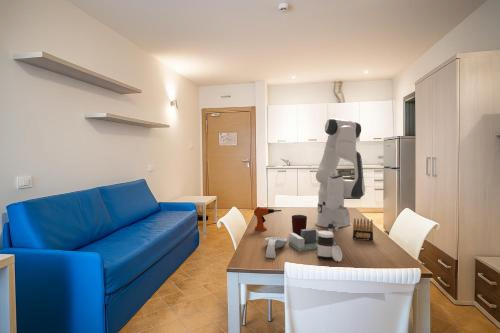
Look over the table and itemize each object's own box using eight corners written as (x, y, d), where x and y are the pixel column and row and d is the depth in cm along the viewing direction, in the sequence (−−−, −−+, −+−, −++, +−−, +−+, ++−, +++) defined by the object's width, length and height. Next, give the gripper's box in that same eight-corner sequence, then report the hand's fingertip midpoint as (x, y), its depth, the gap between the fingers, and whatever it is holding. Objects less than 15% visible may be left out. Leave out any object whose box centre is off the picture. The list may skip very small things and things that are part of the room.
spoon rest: (266, 242, 159) (266, 229, 159) (288, 243, 157) (288, 230, 156) (258, 258, 136) (258, 243, 136) (283, 259, 134) (283, 244, 133)
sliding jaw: (326, 236, 163) (327, 221, 162) (338, 242, 152) (339, 226, 152) (311, 238, 159) (312, 222, 159) (323, 244, 149) (323, 227, 149)
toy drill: (282, 231, 174) (279, 206, 174) (253, 231, 182) (251, 208, 181) (284, 229, 179) (282, 205, 179) (256, 229, 186) (253, 206, 186)
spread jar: (317, 252, 143) (318, 229, 142) (341, 254, 139) (342, 231, 139) (316, 261, 131) (316, 236, 130) (342, 264, 128) (342, 238, 127)
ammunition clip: (352, 239, 164) (353, 218, 163) (352, 238, 165) (353, 217, 165) (373, 240, 160) (373, 219, 160) (372, 239, 162) (373, 218, 161)
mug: (290, 231, 180) (291, 213, 179) (305, 231, 179) (305, 213, 178) (292, 236, 168) (292, 218, 167) (307, 237, 167) (307, 218, 166)
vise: (324, 239, 162) (324, 229, 162) (336, 245, 152) (336, 234, 151) (288, 244, 155) (288, 233, 155) (298, 250, 145) (298, 239, 144)
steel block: (312, 241, 155) (313, 228, 155) (316, 242, 152) (316, 229, 152) (300, 242, 153) (300, 229, 152) (303, 244, 150) (303, 231, 150)
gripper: (353, 207, 148) (352, 234, 149) (329, 200, 167) (329, 224, 168) (342, 208, 146) (342, 235, 146) (319, 201, 165) (319, 225, 166)
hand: (335, 229), depth 157 cm, fingers closed
